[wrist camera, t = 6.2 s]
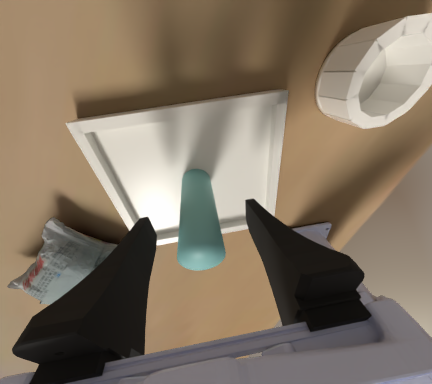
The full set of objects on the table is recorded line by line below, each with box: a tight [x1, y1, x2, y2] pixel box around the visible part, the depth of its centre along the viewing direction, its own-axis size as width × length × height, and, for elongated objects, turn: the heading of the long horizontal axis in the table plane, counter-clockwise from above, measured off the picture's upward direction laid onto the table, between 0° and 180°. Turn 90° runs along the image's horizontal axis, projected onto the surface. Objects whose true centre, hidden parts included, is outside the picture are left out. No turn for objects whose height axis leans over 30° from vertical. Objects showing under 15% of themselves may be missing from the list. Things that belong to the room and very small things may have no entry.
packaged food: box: [7, 217, 117, 304], centre depth 19 cm, size 9×12×5 cm
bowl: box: [315, 13, 432, 129], centre depth 13 cm, size 6×6×4 cm
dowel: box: [177, 169, 226, 270], centre depth 13 cm, size 3×3×8 cm
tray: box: [66, 89, 289, 245], centre depth 17 cm, size 14×16×2 cm
